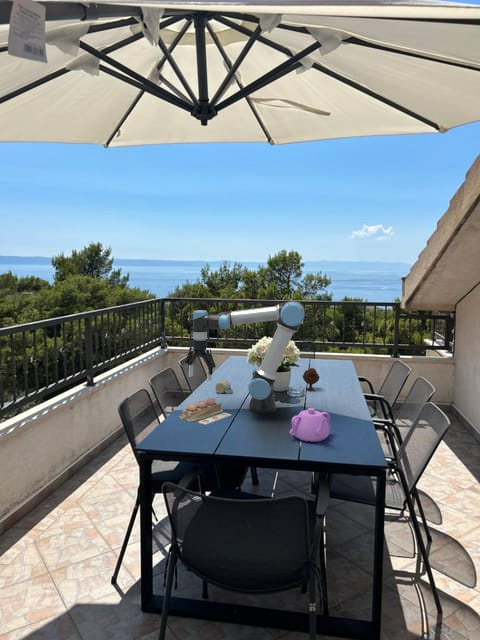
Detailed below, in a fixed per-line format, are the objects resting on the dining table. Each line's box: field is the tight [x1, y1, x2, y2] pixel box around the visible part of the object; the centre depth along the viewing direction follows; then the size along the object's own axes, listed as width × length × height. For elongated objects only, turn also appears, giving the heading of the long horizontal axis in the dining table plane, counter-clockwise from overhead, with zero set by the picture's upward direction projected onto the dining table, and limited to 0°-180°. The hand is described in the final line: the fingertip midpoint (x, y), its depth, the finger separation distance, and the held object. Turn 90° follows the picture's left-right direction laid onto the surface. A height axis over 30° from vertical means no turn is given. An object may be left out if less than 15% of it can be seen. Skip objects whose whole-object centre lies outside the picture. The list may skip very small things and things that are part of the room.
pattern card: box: [197, 412, 232, 426], centre depth 240 cm, size 5×20×1 cm, turn 140°
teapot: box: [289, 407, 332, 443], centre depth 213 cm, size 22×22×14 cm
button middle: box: [196, 400, 207, 409], centre depth 246 cm, size 5×5×4 cm
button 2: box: [206, 397, 216, 406], centre depth 251 cm, size 5×5×4 cm
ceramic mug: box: [215, 378, 234, 395], centre depth 291 cm, size 11×8×8 cm
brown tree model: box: [302, 367, 320, 392], centre depth 299 cm, size 11×11×15 cm
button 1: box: [187, 403, 197, 412], centre depth 240 cm, size 5×5×4 cm
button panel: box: [178, 401, 224, 423], centre depth 246 cm, size 10×23×4 cm, turn 140°
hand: (200, 378), depth 247 cm, fingers open, 13 cm apart
